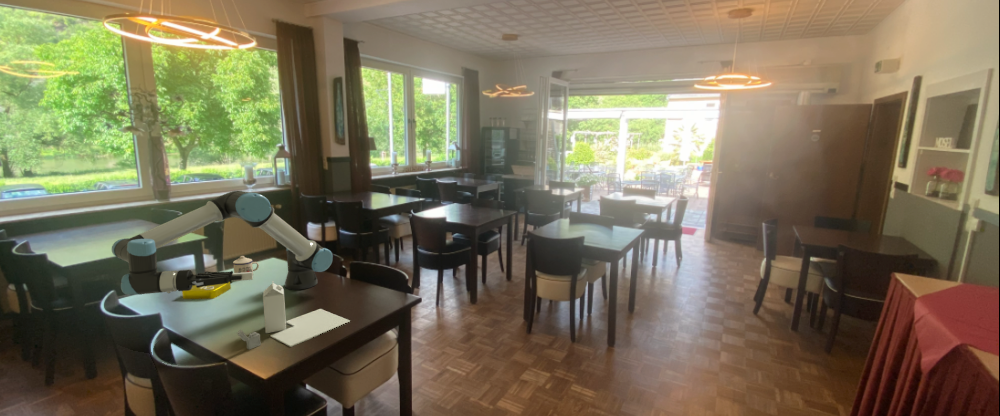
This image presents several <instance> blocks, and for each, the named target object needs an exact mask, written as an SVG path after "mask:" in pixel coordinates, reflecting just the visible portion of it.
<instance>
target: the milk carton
mask: <svg viewBox="0 0 1000 416" xmlns="http://www.w3.org/2000/svg"><path fill="white" fill-rule="evenodd" d="M262 301H263V303H262V304H263V317H264V326H265V327H264V329H265V334H269V333H277V332H280V331H283V330H285V329H287V323H286V321H287V317H286V304H285V290H284V288H283V286H282V285H280V284H276V283H274V282H272V283H271V284H269V286H267V288H265V289H264V290H263V293H262Z"/></svg>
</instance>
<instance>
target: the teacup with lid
mask: <svg viewBox="0 0 1000 416" xmlns="http://www.w3.org/2000/svg"><path fill="white" fill-rule="evenodd" d="M253 264H256V268H253ZM232 265H233V273H243V272H253V273H254V272H255V271H257V270H258V269H259V266H260V264H259V263H258V262H257V261H253V259H252V258H249V257H245V255H241V256H239V258H237V259H236V260H234V261H233V262H232Z"/></svg>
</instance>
